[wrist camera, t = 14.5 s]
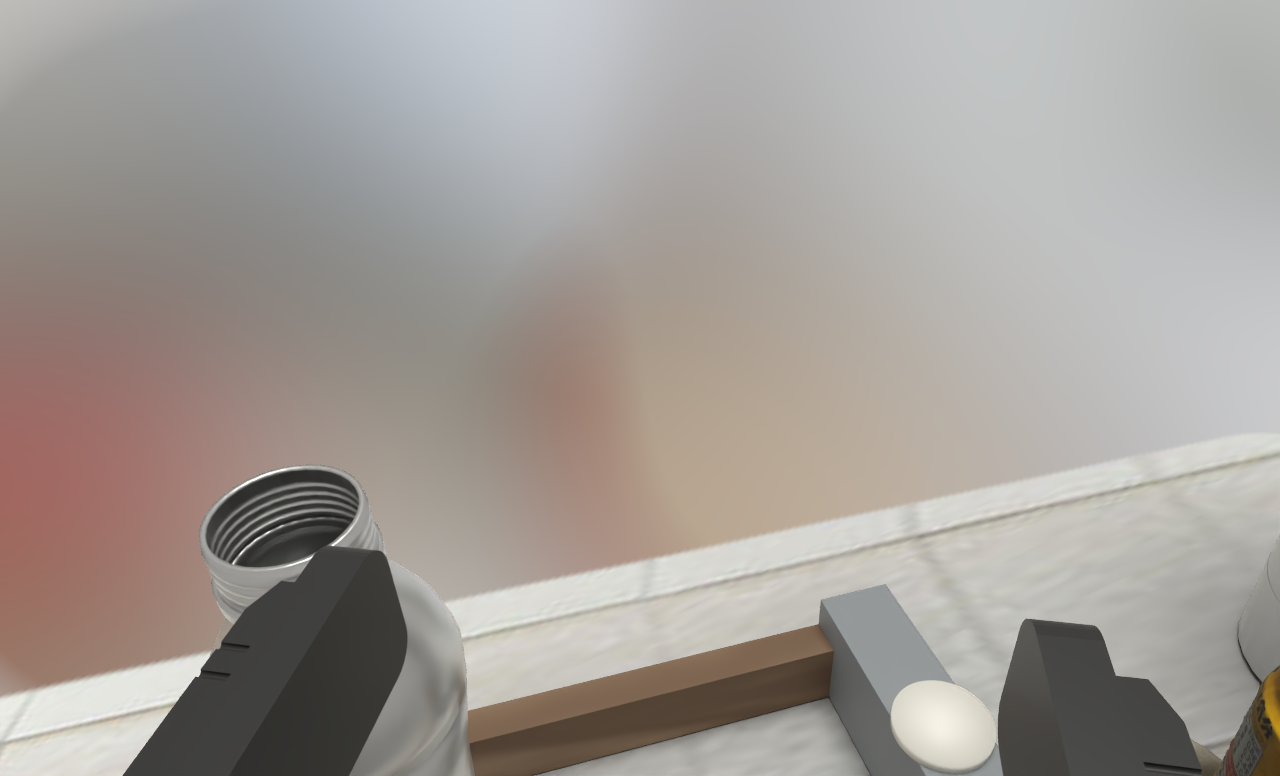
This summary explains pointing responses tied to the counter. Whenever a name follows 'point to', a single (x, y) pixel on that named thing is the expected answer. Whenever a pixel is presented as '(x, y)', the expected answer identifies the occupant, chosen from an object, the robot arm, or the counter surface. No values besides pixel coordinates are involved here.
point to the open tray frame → (650, 704)
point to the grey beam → (901, 694)
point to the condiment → (1251, 738)
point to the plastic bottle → (435, 663)
